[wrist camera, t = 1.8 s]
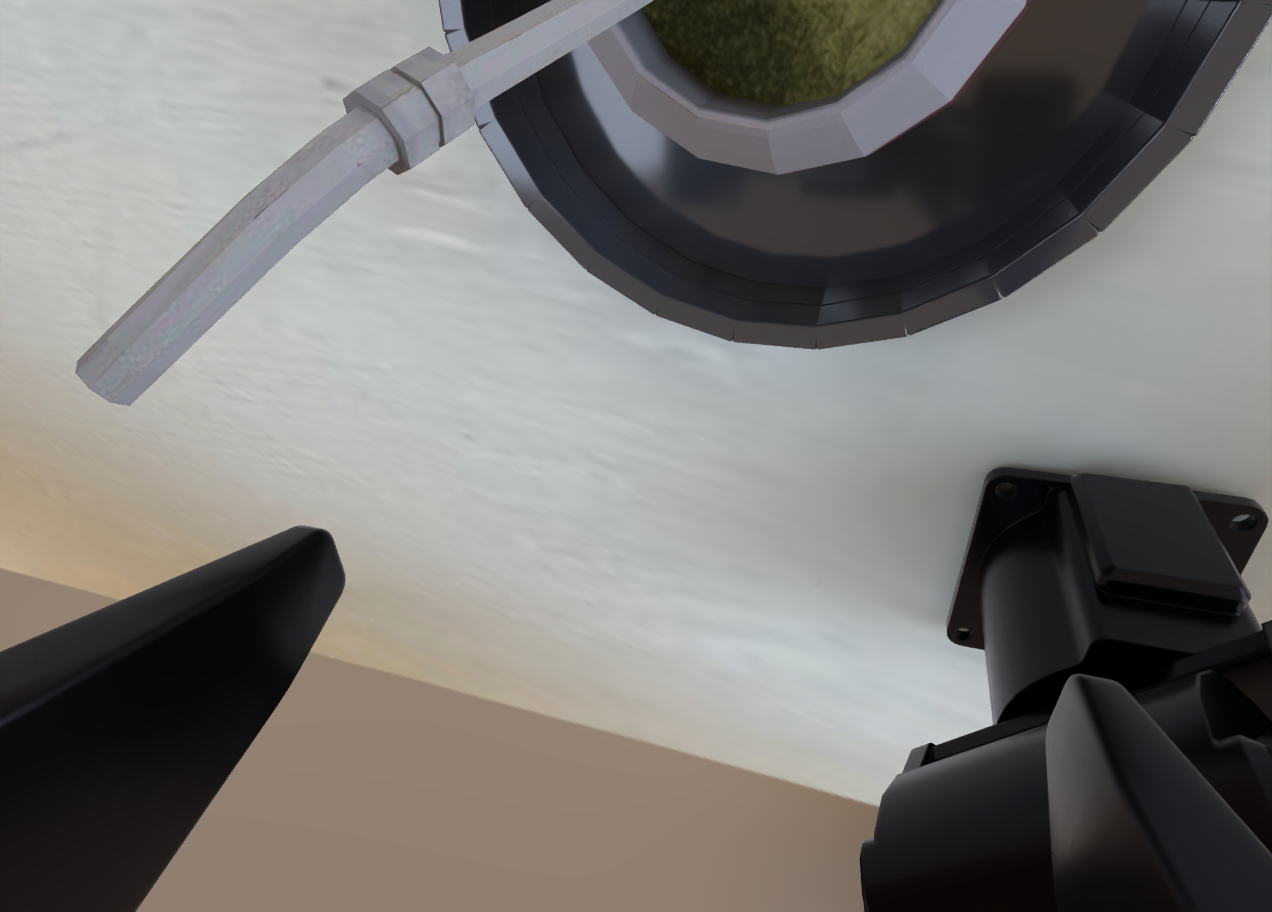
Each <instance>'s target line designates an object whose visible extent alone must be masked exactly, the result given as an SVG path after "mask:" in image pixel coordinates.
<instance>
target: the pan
mask: <svg viewBox="0 0 1272 912" xmlns="http://www.w3.org/2000/svg"><path fill="white" fill-rule="evenodd" d="M549 1H551V0H439V6H440V13H441V19H442V26H443V30H444V32H446V33H445V38H446V41H447V43H448V46H449V49H450V52H452V51H454V50H456V49H458V48H460V47H462V46H464V45H466V44H467V43H469V42H471V41H473V40H475V39H477V38H479V37H481V36H483V35H485V34H487V33H489V32H491V31H493V30H495V29H497V28H499V27H501V26H503V25H505V24H507V23H509V22H511V21H513V20H515V19H517V18H519V17H521V16H523V15H524V14H526V13H528V12H530V11H532V10H534V9H536V8H538V7H540V6H542V5H544V4H545V3H547V2H549ZM1271 19H1272V0H1032V1H1031V3H1030V6H1029V9H1028V11H1027V12H1026V13H1025V14H1024V16H1023V17H1022V18H1021V20H1020V21H1019V22H1018V23H1017V25H1016V26H1015V27H1014V28H1013V30H1012V31H1011V32H1010V33H1009V35H1008V36H1007V37H1006V38H1005V40H1004V41H1003V42H1002V44H1001V45H1000V46H999V47H998V49H997V50H996V51H995V52H994V54H993V55H992V56H991V57H990V59H989V60H988V61H987V62H986V64H985V65H984V66H983V68H982V69H981V70H980V71H979V73H978V74H977V75H976V76H975V78H974V79H973V80H972V81H971V83H970V84H969V85H968V86H967V88H966V89H965V90H964V92H963V93H962V94H961V95H960V97H959V98H958V99H957V100H956V102H954V103H953V104H951V105H950V106H948V107H946V108H945V109H943V110H942V111H940V112H938V113H937V114H935V115H934V116H932V117H930V118H929V119H927V120H926V121H924V122H922V123H921V124H919V125H918V126H916V127H914V128H913V129H911V130H910V131H908V132H907V133H905V134H903V135H902V136H900V137H899V138H897V139H895V140H894V141H892V142H891V143H889V144H887V145H886V146H884V147H883V148H881V149H879V150H878V151H876V152H875V153H873V154H871V155H868V156H865V157H861V158H856V159H852V160H847V161H842V162H838V163H834V164H829V165H825V166H821V167H816V168H812V169H808V170H803V171H799V172H795V173H790V174H780V175H777V174H772V173H767V172H763V171H758V170H753V169H748V168H743V167H738V166H733V165H729V164H724V163H719V162H714V161H709V160H704V159H699V158H697V157H696V156H695V155H693V154H692V153H690V152H689V151H688V150H686V149H685V148H683V147H682V146H680V145H679V144H678V143H676V142H675V141H673V140H672V139H671V138H669V137H668V136H666V135H665V134H664V133H662V132H661V131H659V130H658V129H657V128H655V127H654V126H652V125H651V124H649V123H648V122H647V121H645V120H644V119H642V118H641V117H640V116H638V115H637V114H635V113H634V112H633V111H631V109H630V108H629V106H628V105H627V103H626V102H625V100H624V98H623V97H622V95H621V94H620V92H619V91H618V89H617V88H616V86H615V84H614V83H613V81H612V80H611V78H610V77H609V75H608V74H607V72H606V71H605V69H604V67H603V66H602V64H601V63H600V61H599V60H598V58H597V57H596V55H595V54H594V52H593V50H592V49H591V47H590V46H589V44H588V43H587V42H585V43H583V44H582V45H580V46H578V47H577V48H575V49H573V50H572V51H570V52H568V53H567V54H565V55H564V56H562V57H560V58H559V59H557V60H555V61H554V62H552V63H550V64H549V65H547V66H546V67H544V68H542V69H541V70H539V71H537V72H536V73H534V74H532V75H531V76H529V77H527V78H526V79H524V80H522V81H521V82H519V83H518V84H516V85H514V86H513V87H511V88H509V89H508V90H506V91H504V92H503V93H501V94H499V95H498V96H496V97H495V98H493V99H491V100H490V101H488V102H486V103H485V104H483V105H481V106H480V107H478V108H476V109H475V121H476V124H477V127H478V128H480V129H479V132H480V134H481V135H482V137H483V138H484V140H485V142H486V143H487V145H488V147H489V148H490V150H491V152H492V153H493V155H494V156H495V158H496V160H497V161H498V163H499V165H500V166H501V168H502V170H503V171H504V173H505V175H506V176H507V178H508V179H509V181H510V183H511V184H512V186H513V188H514V189H515V191H516V193H517V194H518V196H519V197H520V199H521V201H522V202H523V204H524V206H525V207H526V208H528V211H529V212H530V213H531V214H532V215H533V216H534V217H535V218H536V219H537V220H538V221H539V222H540V223H541V224H542V225H543V226H544V227H545V228H546V229H547V230H548V231H549V232H550V233H551V235H552V236H553V237H554V238H555V239H556V240H557V241H558V242H559V243H560V244H561V245H562V246H563V247H564V248H565V249H566V250H567V251H568V252H569V253H570V254H571V255H572V256H573V257H574V258H575V259H576V261H577V262H578V263H579V264H580V265H581V266H582V267H583V268H584V269H587V272H589V273H590V274H592V275H594V276H595V277H597V278H598V279H600V280H601V281H603V282H604V283H606V284H607V285H609V286H611V287H612V288H614V289H615V290H617V291H618V292H620V293H621V294H623V295H624V296H626V297H628V298H629V299H631V300H632V301H634V302H635V303H637V304H638V305H640V306H641V307H643V308H645V309H646V310H648V311H649V312H651V313H652V314H656V316H659V317H662V318H665V319H668V320H670V321H673V322H676V323H679V324H682V325H685V326H688V327H691V328H693V329H696V330H699V331H702V332H705V333H708V334H711V335H714V336H716V337H719V338H722V339H725V340H728V341H732V340H733V342H740V343H751V344H762V345H772V346H783V347H794V348H805V349H816V348H817V349H825V348H832V347H839V346H845V345H852V344H859V343H866V342H873V341H879V340H886V339H893V338H900V337H906V336H907V334H908V335H912V334H914V333H917V332H920V331H922V330H925V329H927V328H930V327H932V326H935V325H937V324H940V323H943V322H945V321H948V320H950V319H953V318H955V317H958V316H960V315H963V314H965V313H968V312H971V311H973V310H976V309H978V308H981V307H983V306H986V305H988V304H991V303H994V302H996V301H999V300H1001V299H1002V296H1003V297H1006V296H1008V295H1010V294H1011V293H1013V292H1014V291H1016V290H1017V289H1019V288H1020V287H1022V286H1023V285H1025V284H1026V283H1028V282H1029V281H1031V280H1032V279H1034V278H1035V277H1037V276H1038V275H1040V274H1041V273H1043V272H1044V271H1046V270H1047V269H1049V268H1050V267H1052V266H1053V265H1055V264H1056V263H1058V262H1059V261H1061V260H1062V259H1064V258H1065V257H1067V256H1068V255H1070V254H1071V253H1073V252H1074V251H1076V250H1077V249H1078V248H1080V247H1081V246H1083V245H1084V244H1086V243H1087V242H1089V241H1090V240H1092V239H1093V238H1095V237H1096V236H1098V234H1099V232H1102V231H1104V230H1105V229H1106V228H1107V227H1108V226H1109V225H1110V224H1111V223H1112V222H1113V221H1114V220H1115V219H1116V218H1117V217H1118V216H1119V215H1120V214H1121V212H1122V211H1123V210H1124V209H1125V208H1126V207H1127V206H1128V205H1129V204H1130V203H1131V202H1132V201H1133V200H1134V199H1135V198H1136V197H1137V196H1138V195H1139V194H1140V193H1141V192H1142V191H1143V190H1144V189H1145V188H1146V187H1147V186H1148V185H1149V184H1150V183H1151V182H1152V181H1153V180H1154V179H1155V178H1156V177H1157V176H1158V175H1159V174H1160V173H1161V172H1162V171H1163V169H1164V168H1165V167H1166V166H1167V165H1168V164H1169V163H1170V162H1171V161H1172V160H1173V159H1174V158H1175V157H1176V156H1177V155H1178V154H1179V153H1180V152H1181V151H1182V150H1183V149H1184V148H1185V147H1186V146H1187V145H1188V144H1189V143H1190V142H1191V141H1192V139H1193V136H1196V135H1197V134H1198V133H1199V131H1200V130H1201V128H1202V127H1203V125H1204V123H1205V122H1206V120H1207V119H1208V117H1209V116H1210V114H1211V112H1212V111H1213V109H1214V108H1215V106H1216V105H1217V103H1218V102H1219V100H1220V98H1221V97H1222V95H1223V94H1224V92H1225V91H1226V89H1227V87H1228V86H1229V84H1230V83H1231V81H1232V80H1233V78H1234V77H1235V75H1236V73H1237V72H1238V70H1239V69H1240V67H1241V66H1242V64H1243V62H1244V61H1245V59H1246V58H1247V56H1248V55H1249V53H1250V51H1251V50H1252V48H1253V47H1254V45H1255V44H1256V42H1257V41H1258V39H1259V37H1260V36H1261V34H1262V33H1263V31H1264V30H1265V28H1266V26H1267V25H1268V23H1269V22H1270V20H1271Z"/></svg>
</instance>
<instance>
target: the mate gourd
mask: <svg viewBox="0 0 1272 912" xmlns="http://www.w3.org/2000/svg"><path fill="white" fill-rule="evenodd" d="M1031 1H1032V0H551V1H549V2H547V3H545V4H544V5H542V6H540V7H538V8H536V9H534V10H532V11H530V12H528V13H526V14H524V15H523V16H521V17H519V18H517V19H515V20H513V21H511V22H509V23H507V24H505V25H503V26H501V27H499V28H497V29H495V30H493V31H491V32H489V33H487V34H485V35H483V36H481V37H479V38H477V39H475V40H473V41H471V42H469V43H467V44H466V45H464V46H462V47H460V48H458V49H456V50H454V51H452V52H450V53H448V54H446V55H442V54H440V53H439V52H437V51H435V50H434V49H432V48H430V47H428V48H426V49H424V50H422V51H420V52H419V53H417V54H415V55H413V56H411V57H410V58H408V59H406V60H404V61H402V62H401V63H399V64H397V65H396V66H394V67H393V68H391V69H390V70H386V71H384V72H383V73H381V74H379V75H378V76H376V77H375V78H373V79H371V80H370V81H368V82H366V83H365V84H363V85H362V86H360V87H358V88H357V89H355V90H354V91H353V92H351V93H350V94H349V95H348V96H346V97H345V98H344V99H343V101H344V105H345V108H346V111H347V114H346V115H345V116H344V117H342V118H341V119H339V120H338V121H337V122H335V123H334V124H332V125H331V126H329V127H328V128H327V129H325V130H324V131H322V132H321V133H320V134H318V135H317V136H316V137H315V138H314V139H312V140H311V141H310V142H309V143H308V144H306V145H305V146H304V147H303V148H302V149H301V150H299V151H298V152H297V153H296V154H295V155H293V156H292V157H291V158H290V159H289V160H288V161H286V162H285V163H284V164H283V165H282V166H280V167H279V168H278V169H277V170H276V171H274V172H273V173H272V174H271V175H270V176H269V177H267V178H266V179H265V180H264V181H263V182H261V183H260V184H259V185H258V186H257V187H256V188H254V189H253V190H252V191H251V192H250V193H248V194H247V195H246V196H245V197H244V198H243V199H242V200H241V201H240V202H239V203H237V204H236V205H235V206H234V207H233V208H232V209H231V210H230V211H229V212H228V213H227V214H226V215H225V216H224V217H223V218H222V219H221V220H220V221H219V222H218V223H217V224H216V225H215V226H214V227H213V228H212V229H211V230H210V231H209V232H208V233H207V234H206V235H205V236H204V237H203V238H202V239H201V240H200V241H199V242H198V243H196V244H195V245H194V246H193V247H192V248H191V249H190V250H189V251H188V252H187V253H186V254H185V255H184V256H183V257H182V258H181V259H180V260H179V261H178V262H177V263H176V264H175V265H174V266H173V267H172V268H171V269H170V270H169V271H168V272H167V273H166V274H165V275H164V276H163V277H162V278H161V279H160V280H159V281H158V282H156V283H155V284H154V285H153V286H152V287H151V288H150V289H149V290H148V291H147V292H146V293H145V294H144V295H143V296H142V297H141V298H140V299H139V300H138V301H137V302H136V303H135V304H134V305H133V306H132V307H131V308H130V309H129V310H128V311H127V312H126V313H125V314H124V315H123V316H122V317H121V318H120V319H119V320H118V321H116V322H115V323H114V324H113V325H112V326H111V327H110V328H109V329H108V330H107V331H106V332H105V333H104V334H103V335H102V336H101V337H100V338H99V339H98V340H97V342H96V343H95V344H94V345H93V346H92V347H91V348H90V349H89V350H88V351H87V352H86V353H85V354H84V355H83V356H82V357H81V358H80V359H79V360H78V362H77V367H76V372H75V373H76V374H77V375H78V376H79V377H80V378H81V380H82V381H83V382H84V383H85V384H86V385H87V386H88V388H89V389H91V390H92V391H94V392H95V393H97V394H98V395H100V396H101V397H103V398H104V399H106V400H107V401H109V402H110V403H116V404H123V405H129V406H130V405H131V404H132V403H133V402H134V401H135V400H136V399H137V398H138V397H139V396H140V395H141V394H142V393H143V392H144V391H146V390H147V389H148V388H149V387H150V386H151V385H152V384H153V383H154V382H155V381H156V380H157V379H158V378H159V377H160V376H161V375H162V374H163V373H164V372H165V371H166V370H167V369H168V368H169V367H170V366H171V365H172V364H173V363H174V362H176V361H177V360H178V359H179V358H180V357H181V356H182V355H183V354H184V353H185V352H186V351H187V350H188V349H189V348H190V347H191V346H192V345H193V344H194V343H195V342H196V341H197V340H198V339H199V338H200V337H201V336H202V335H203V334H204V333H205V332H206V331H207V330H208V329H209V328H211V327H212V326H213V325H214V324H215V323H216V322H217V321H218V320H219V319H220V318H221V317H222V316H223V315H224V314H225V313H226V312H227V311H228V310H229V309H230V308H231V307H232V306H233V305H234V304H235V303H236V302H237V301H238V300H239V299H240V298H241V297H242V296H243V295H244V294H246V293H247V292H248V291H249V290H250V289H251V288H252V287H253V286H254V285H255V284H256V283H257V282H258V281H259V280H260V279H261V278H262V277H263V276H264V275H265V274H266V273H267V272H268V271H269V270H270V269H271V268H272V267H273V266H274V265H275V264H276V263H277V262H278V261H279V260H280V259H282V258H283V257H284V256H285V255H286V254H287V253H288V252H289V251H290V250H291V249H292V248H293V247H294V246H295V245H296V244H297V243H298V242H300V241H301V240H302V239H303V238H304V237H305V236H307V235H308V234H309V233H310V232H311V231H312V230H313V229H315V228H316V227H317V226H318V225H319V224H320V223H322V222H323V221H324V220H325V219H326V218H327V217H328V216H330V215H331V214H332V213H333V212H334V211H335V210H336V209H338V208H339V207H340V206H341V205H342V204H343V203H345V202H346V201H347V200H348V199H349V198H350V197H351V196H353V195H354V194H355V193H356V192H357V191H358V190H360V189H361V188H362V187H363V186H364V185H365V184H366V183H368V182H369V181H371V180H372V179H373V178H375V177H376V176H377V175H379V174H380V173H381V172H383V171H384V170H386V169H387V168H388V169H390V170H391V171H392V172H394V173H395V174H397V175H399V174H401V173H403V172H405V171H407V170H410V169H411V168H413V167H414V166H416V165H417V164H419V163H420V162H422V161H423V160H425V159H426V158H428V157H429V156H430V155H432V154H433V153H435V152H436V151H438V150H439V148H440V147H442V146H444V145H446V144H447V143H449V142H450V141H452V140H453V139H455V138H456V137H458V136H459V135H461V134H462V133H463V132H465V131H466V130H468V129H469V128H471V127H472V126H474V125H475V109H476V108H478V107H480V106H481V105H483V104H485V103H486V102H488V101H490V100H491V99H493V98H495V97H496V96H498V95H499V94H501V93H503V92H504V91H506V90H508V89H509V88H511V87H513V86H514V85H516V84H518V83H519V82H521V81H522V80H524V79H526V78H527V77H529V76H531V75H532V74H534V73H536V72H537V71H539V70H541V69H542V68H544V67H546V66H547V65H549V64H550V63H552V62H554V61H555V60H557V59H559V58H560V57H562V56H564V55H565V54H567V53H568V52H570V51H572V50H573V49H575V48H577V47H578V46H580V45H582V44H583V43H585V42H587V43H588V44H589V46H590V47H591V49H592V50H593V52H594V54H595V55H596V57H597V58H598V60H599V61H600V63H601V64H602V66H603V67H604V69H605V71H606V72H607V74H608V75H609V77H610V78H611V80H612V81H613V83H614V84H615V86H616V88H617V89H618V91H619V92H620V94H621V95H622V97H623V98H624V100H625V102H626V103H627V105H628V106H629V108H630V109H631V111H633V112H634V113H635V114H637V115H638V116H640V117H641V118H642V119H644V120H645V121H647V122H648V123H649V124H651V125H652V126H654V127H655V128H657V129H658V130H659V131H661V132H662V133H664V134H665V135H666V136H668V137H669V138H671V139H672V140H673V141H675V142H676V143H678V144H679V145H680V146H682V147H683V148H685V149H686V150H688V151H689V152H690V153H692V154H693V155H695V156H696V157H697V158H699V159H704V160H709V161H714V162H719V163H724V164H729V165H733V166H738V167H743V168H748V169H753V170H758V171H763V172H767V173H772V174H777V175H780V174H790V173H795V172H799V171H803V170H808V169H812V168H816V167H821V166H825V165H829V164H834V163H838V162H842V161H847V160H852V159H856V158H861V157H865V156H868V155H871V154H873V153H875V152H876V151H878V150H879V149H881V148H883V147H884V146H886V145H887V144H889V143H891V142H892V141H894V140H895V139H897V138H899V137H900V136H902V135H903V134H905V133H907V132H908V131H910V130H911V129H913V128H914V127H916V126H918V125H919V124H921V123H922V122H924V121H926V120H927V119H929V118H930V117H932V116H934V115H935V114H937V113H938V112H940V111H942V110H943V109H945V108H946V107H948V106H950V105H951V104H953V103H954V102H956V100H957V99H958V98H959V97H960V95H961V94H962V93H963V92H964V90H965V89H966V88H967V86H968V85H969V84H970V83H971V81H972V80H973V79H974V78H975V76H976V75H977V74H978V73H979V71H980V70H981V69H982V68H983V66H984V65H985V64H986V62H987V61H988V60H989V59H990V57H991V56H992V55H993V54H994V52H995V51H996V50H997V49H998V47H999V46H1000V45H1001V44H1002V42H1003V41H1004V40H1005V38H1006V37H1007V36H1008V35H1009V33H1010V32H1011V31H1012V30H1013V28H1014V27H1015V26H1016V25H1017V23H1018V22H1019V21H1020V20H1021V18H1022V17H1023V16H1024V14H1025V13H1026V12H1027V11H1028V9H1029V6H1030V3H1031Z"/></svg>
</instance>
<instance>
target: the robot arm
mask: <svg viewBox="0 0 1272 912" xmlns="http://www.w3.org/2000/svg"><path fill="white" fill-rule="evenodd" d="M1001 483H1010V484H1013V486H1012V488H1010V489H1008V490H1000V489H997V488H996V487H997V485H999V484H1001ZM1239 515H1249V516H1248V518H1247V519H1245V520H1242V521H1237V522H1233V521H1232V520H1233V519H1234V518H1235V517H1237V516H1239ZM1268 520H1269V519H1268V517H1267V515H1266V513H1265V511H1264V510H1263V508H1262V507H1261V505H1260V504H1259V503H1257V502H1256V501H1255V500H1252V499H1249V498H1244V497H1236V496H1228V495H1221V494H1213V493H1205V492H1197V491H1191V489H1190V488H1189V487H1187V486H1181V485H1173V484H1165V483H1157V482H1149V481H1141V480H1133V479H1125V478H1118V477H1110V476H1102V475H1094V474H1086V473H1083V474H1079V475H1076V476H1071V475H1063V474H1055V473H1047V472H1040V471H1032V470H1024V469H1016V468H998V469H995V470H993V471H991V472H990V473H989V474H987V476H986V478H985V480H984V483H983V487H982V491H981V495H980V498H979V502H978V506H977V510H976V513H975V517H974V521H973V525H972V528H971V532H970V536H969V540H968V543H967V547H966V551H965V555H964V558H963V562H962V566H961V570H960V573H959V577H958V581H957V585H956V588H955V592H954V596H953V600H952V603H951V607H950V611H949V615H948V618H947V636H948V638H949V639H950V640H951V641H952V642H953V643H955V644H958V645H961V646H966V647H971V648H977V649H982V650H985V654H986V664H987V673H988V682H989V691H990V700H991V710H992V719H993V726H990V727H987V728H984V729H981V730H978V731H976V732H973V733H970V734H967V735H964V736H962V737H959V738H956V739H953V740H950V741H947V742H945V743H942V744H939V745H935V744H933V743H928V744H926V745H923V746H920V747H917V748H914V749H912V751H911V753H910V755H909V758H908V760H907V762H906V765H905V767H904V770H903V772H902V773H901V774H898V775H897V776H896V777H895V779H894V780H893V782H892V783H891V784H890V786H889V787H888V788H887V790H886V791H885V793H884V794H883V795H882V798H881V803H880V808H879V813H878V818H877V822H876V827H875V832H874V838H873V839H869V840H866V841H865V842H864V843H863V844H862V848H861V854H860V870H861V885H862V896H863V902H864V912H1272V620H1271V621H1268V622H1265V623H1262V624H1261V626H1262V629H1263V630H1262V629H1261V627H1260V625H1259V623H1258V621H1257V619H1256V618H1255V616H1254V614H1253V612H1252V610H1251V608H1250V607H1249V605H1248V602H1249V601H1250V599H1251V594H1250V592H1249V590H1248V588H1247V586H1246V585H1245V583H1244V581H1243V579H1242V578H1241V576H1240V575H1241V573H1242V572H1243V570H1244V568H1245V566H1246V564H1247V562H1248V560H1249V559H1250V557H1251V555H1252V553H1253V551H1254V549H1255V547H1256V546H1257V544H1258V542H1259V540H1260V538H1261V536H1262V534H1263V533H1264V531H1265V529H1266V527H1267V524H1268ZM344 586H345V572H344V569H343V566H342V563H341V560H340V557H339V554H338V551H337V548H336V545H335V542H334V539H333V537H332V535H331V534H330V533H329V532H328V531H327V530H324V529H320V528H315V527H310V526H295V527H293V528H290V529H288V530H286V531H283V532H281V533H279V534H276V535H274V536H272V537H269V538H267V539H264V540H262V541H260V542H257V543H255V544H253V545H250V546H248V547H246V548H243V549H241V550H239V551H236V552H234V553H232V554H229V555H227V556H225V557H222V558H220V559H217V560H215V561H213V562H210V563H208V564H206V565H203V566H201V567H199V568H196V569H194V570H192V571H189V572H187V573H185V574H182V575H180V576H178V577H175V578H173V579H170V580H168V581H166V582H163V583H161V584H159V585H156V586H154V587H152V588H149V589H147V590H145V591H142V592H140V593H138V594H135V595H133V596H130V597H128V598H126V599H123V600H121V601H119V602H117V603H114V604H112V605H109V606H107V607H105V608H102V609H100V610H98V611H95V612H93V613H91V614H88V615H86V616H84V617H81V618H79V619H76V620H74V621H72V622H69V623H67V624H65V625H62V626H60V627H58V628H55V629H53V630H51V631H48V632H46V633H44V634H41V635H39V636H36V637H34V638H32V639H29V640H27V641H25V642H22V643H20V644H18V645H15V646H13V647H11V648H8V649H6V650H4V651H1V652H0V912H136V911H137V909H138V908H139V906H140V905H141V903H142V902H143V900H144V899H145V897H146V896H147V895H148V893H149V892H150V890H151V889H152V887H153V886H154V884H155V883H156V881H157V880H158V879H159V877H160V876H161V874H162V873H163V871H164V870H165V868H166V867H167V865H168V864H169V863H170V861H171V860H172V858H173V857H174V855H175V854H176V852H177V851H178V849H179V848H180V847H181V845H182V844H183V842H184V841H185V839H186V838H187V836H188V835H189V833H190V832H191V830H192V829H193V828H194V826H195V825H196V823H197V822H198V820H199V819H200V817H201V816H202V815H203V813H204V812H205V810H206V809H207V807H208V806H209V804H210V803H211V801H212V800H213V799H214V797H215V796H216V794H217V793H218V791H219V790H220V788H221V787H222V785H223V784H224V782H225V781H226V780H227V778H228V777H229V775H230V774H231V772H232V771H233V769H234V768H235V766H236V765H237V763H238V762H239V761H240V759H241V758H242V756H243V755H244V753H245V752H246V750H247V749H248V748H249V746H250V745H251V743H252V742H253V740H254V739H255V737H256V736H257V734H258V733H259V732H260V730H261V729H262V727H263V726H264V724H265V723H266V721H267V720H268V718H269V717H270V716H271V714H272V713H273V711H274V709H275V708H276V707H277V705H278V704H279V702H280V701H281V699H282V698H283V696H284V695H285V693H286V692H287V690H288V688H289V687H290V685H291V683H292V682H293V680H294V678H295V676H296V675H297V673H298V671H299V670H300V668H301V666H302V664H303V662H304V660H305V659H306V657H307V655H308V653H309V652H310V650H311V648H312V646H313V644H314V643H315V641H316V639H317V637H318V635H319V634H320V632H321V630H322V628H323V626H324V625H325V623H326V621H327V619H328V617H329V616H330V614H331V612H332V610H333V608H334V607H335V605H336V603H337V601H338V599H339V598H340V596H341V594H342V592H343V589H344ZM960 628H966V629H969V630H968V631H960V630H958V629H960Z"/></svg>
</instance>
